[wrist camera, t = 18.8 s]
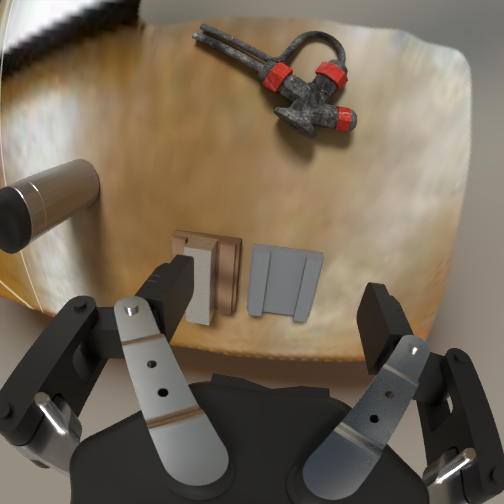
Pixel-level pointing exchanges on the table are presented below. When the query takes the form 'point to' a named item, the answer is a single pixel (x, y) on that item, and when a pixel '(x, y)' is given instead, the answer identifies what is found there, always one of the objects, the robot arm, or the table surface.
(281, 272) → the grey channel bracket
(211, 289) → the block
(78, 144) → the table surface
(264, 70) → the valve
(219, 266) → the cradle
